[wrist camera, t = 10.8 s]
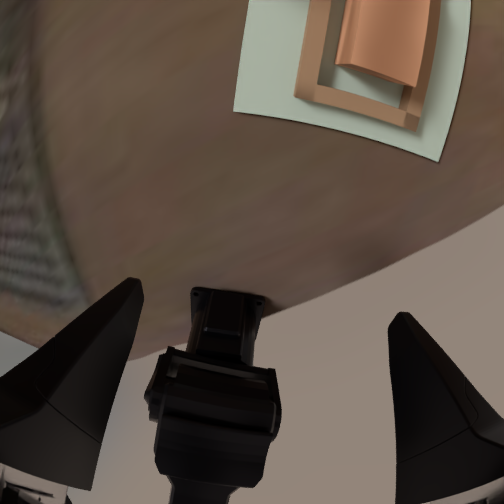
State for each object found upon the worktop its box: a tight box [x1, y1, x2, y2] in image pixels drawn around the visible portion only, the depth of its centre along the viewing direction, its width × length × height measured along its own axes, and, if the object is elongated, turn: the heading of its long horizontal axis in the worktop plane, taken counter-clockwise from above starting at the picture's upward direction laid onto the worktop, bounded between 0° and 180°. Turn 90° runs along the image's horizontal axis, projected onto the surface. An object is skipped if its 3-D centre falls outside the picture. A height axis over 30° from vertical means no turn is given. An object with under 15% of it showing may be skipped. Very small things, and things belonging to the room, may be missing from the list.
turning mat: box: [233, 0, 471, 162], centre depth 10 cm, size 16×14×2 cm
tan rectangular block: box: [334, 0, 430, 87], centre depth 9 cm, size 4×8×4 cm, turn 172°
